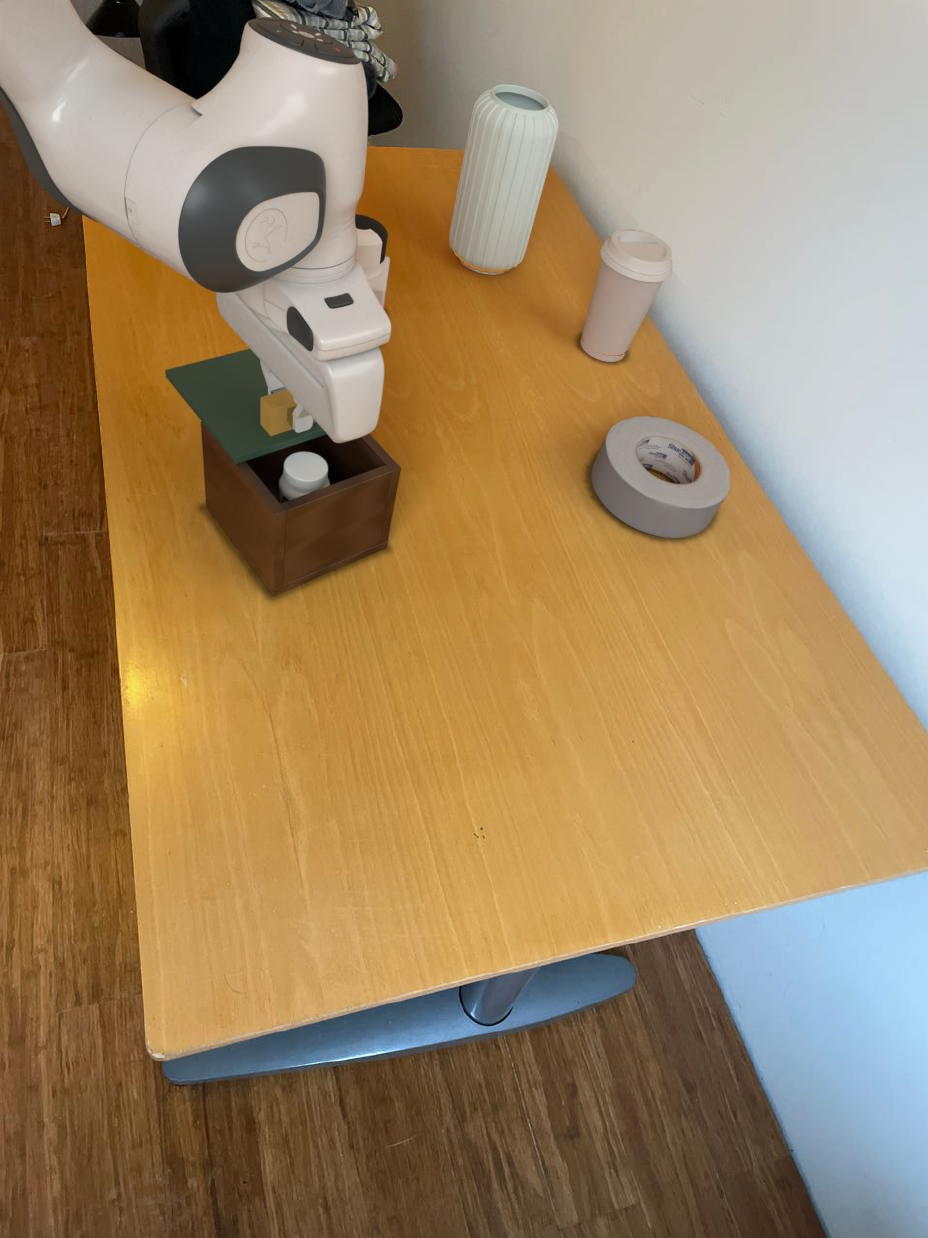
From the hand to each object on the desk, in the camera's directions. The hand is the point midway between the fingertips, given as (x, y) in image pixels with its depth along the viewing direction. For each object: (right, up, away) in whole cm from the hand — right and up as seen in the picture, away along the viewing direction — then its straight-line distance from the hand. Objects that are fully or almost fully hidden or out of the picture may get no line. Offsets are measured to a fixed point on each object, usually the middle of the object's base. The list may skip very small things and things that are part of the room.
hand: (290, 415), depth 73 cm
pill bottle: (-1, -9, +8) cm, 12 cm away
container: (+1, +20, +33) cm, 38 cm away
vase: (+18, +35, +49) cm, 63 cm away
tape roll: (+38, -3, +24) cm, 45 cm away
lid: (-3, +2, +3) cm, 5 cm away
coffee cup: (+35, +20, +41) cm, 57 cm away
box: (-1, -9, +9) cm, 13 cm away
